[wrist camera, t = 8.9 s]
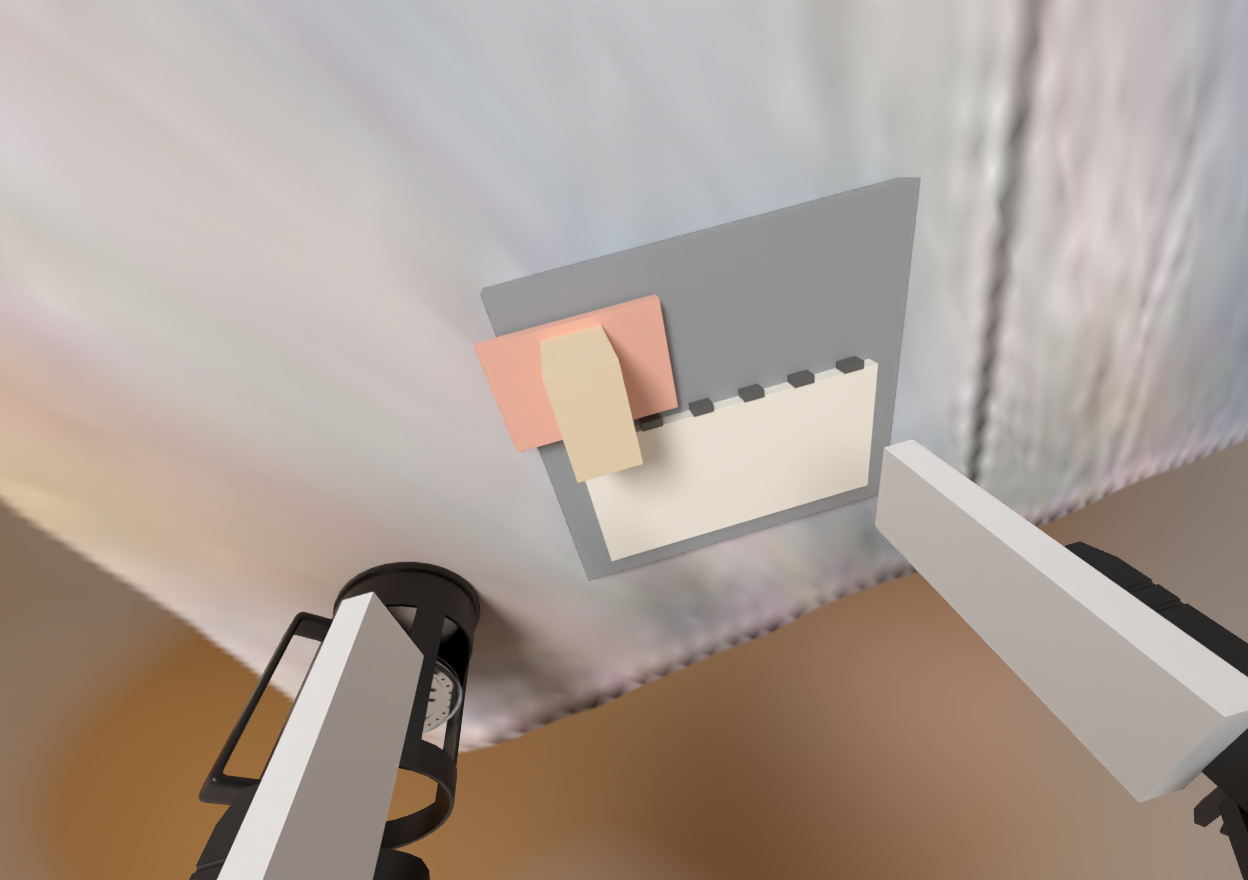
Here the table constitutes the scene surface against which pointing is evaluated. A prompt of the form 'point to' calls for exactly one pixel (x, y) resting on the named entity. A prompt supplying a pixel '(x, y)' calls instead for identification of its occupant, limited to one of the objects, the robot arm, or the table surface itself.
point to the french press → (433, 705)
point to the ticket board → (742, 372)
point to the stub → (584, 383)
